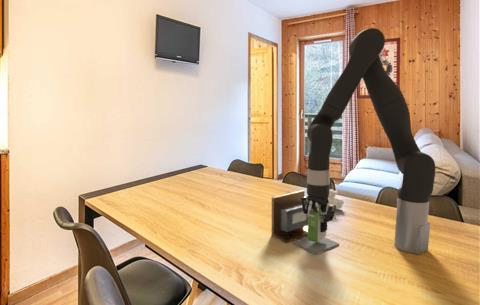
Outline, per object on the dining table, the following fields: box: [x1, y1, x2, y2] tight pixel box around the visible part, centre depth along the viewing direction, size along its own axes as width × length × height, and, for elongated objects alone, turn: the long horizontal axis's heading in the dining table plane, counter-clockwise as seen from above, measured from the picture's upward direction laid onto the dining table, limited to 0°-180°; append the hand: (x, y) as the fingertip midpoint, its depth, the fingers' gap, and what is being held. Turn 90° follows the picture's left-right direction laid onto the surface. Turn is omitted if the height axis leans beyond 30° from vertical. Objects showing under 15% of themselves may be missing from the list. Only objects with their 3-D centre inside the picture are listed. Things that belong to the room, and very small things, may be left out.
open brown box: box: [271, 189, 308, 244], centre depth 114 cm, size 8×16×15 cm, turn 124°
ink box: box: [307, 204, 327, 243], centre depth 104 cm, size 7×4×13 cm, turn 140°
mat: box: [293, 236, 340, 256], centre depth 106 cm, size 10×12×1 cm
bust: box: [328, 188, 345, 211], centre depth 140 cm, size 12×8×11 cm
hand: (317, 228), depth 105 cm, fingers closed on ink box, 4 cm apart
